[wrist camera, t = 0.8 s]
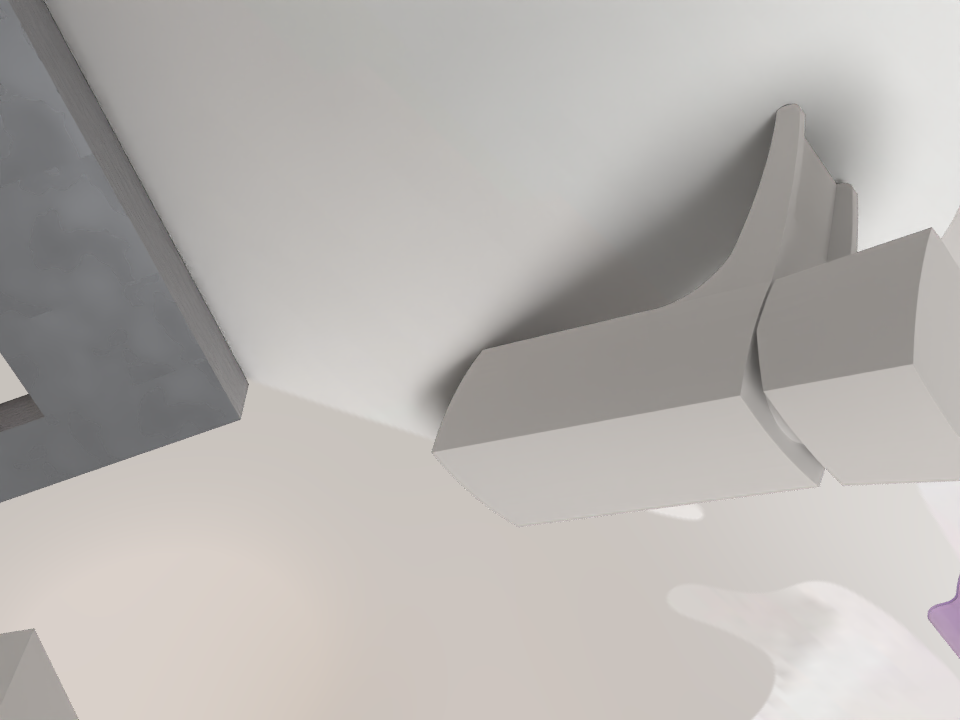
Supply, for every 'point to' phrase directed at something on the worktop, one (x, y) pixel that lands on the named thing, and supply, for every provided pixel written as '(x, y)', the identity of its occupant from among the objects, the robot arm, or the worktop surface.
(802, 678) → the worktop surface
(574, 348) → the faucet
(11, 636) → the robot arm
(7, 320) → the socket plate
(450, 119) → the worktop surface
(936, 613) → the clip
